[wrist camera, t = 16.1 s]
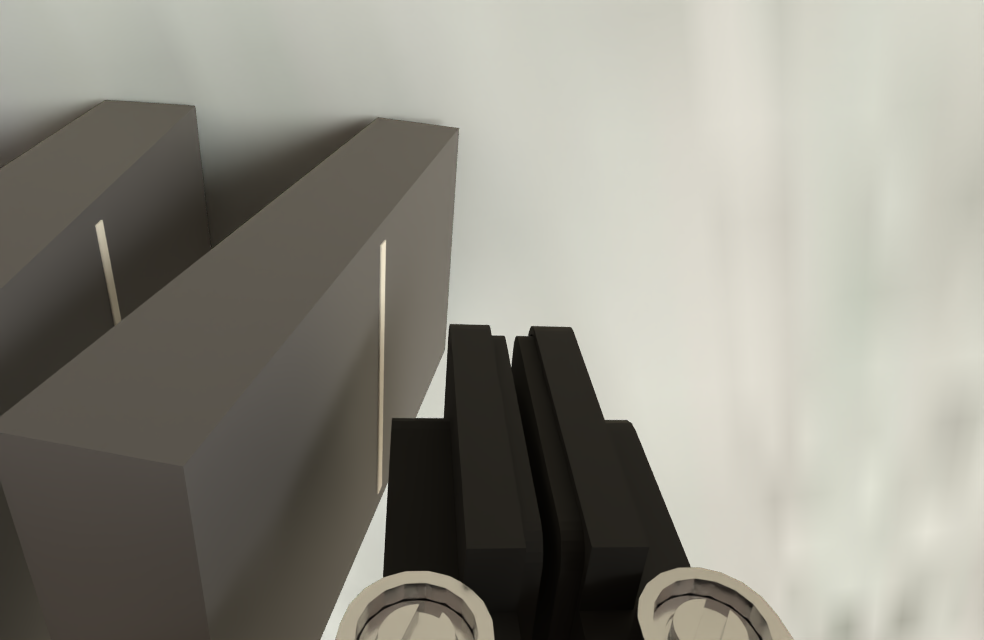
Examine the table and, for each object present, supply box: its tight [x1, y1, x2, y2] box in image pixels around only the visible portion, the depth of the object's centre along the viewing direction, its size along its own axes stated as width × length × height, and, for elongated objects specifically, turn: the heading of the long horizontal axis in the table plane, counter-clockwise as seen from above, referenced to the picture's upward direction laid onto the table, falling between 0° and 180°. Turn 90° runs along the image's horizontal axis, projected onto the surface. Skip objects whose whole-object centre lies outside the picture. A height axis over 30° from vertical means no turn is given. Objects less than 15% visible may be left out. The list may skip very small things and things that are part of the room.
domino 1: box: [0, 100, 211, 640], centre depth 11 cm, size 2×5×10 cm, turn 175°
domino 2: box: [0, 118, 459, 640], centre depth 11 cm, size 2×5×10 cm, turn 175°
